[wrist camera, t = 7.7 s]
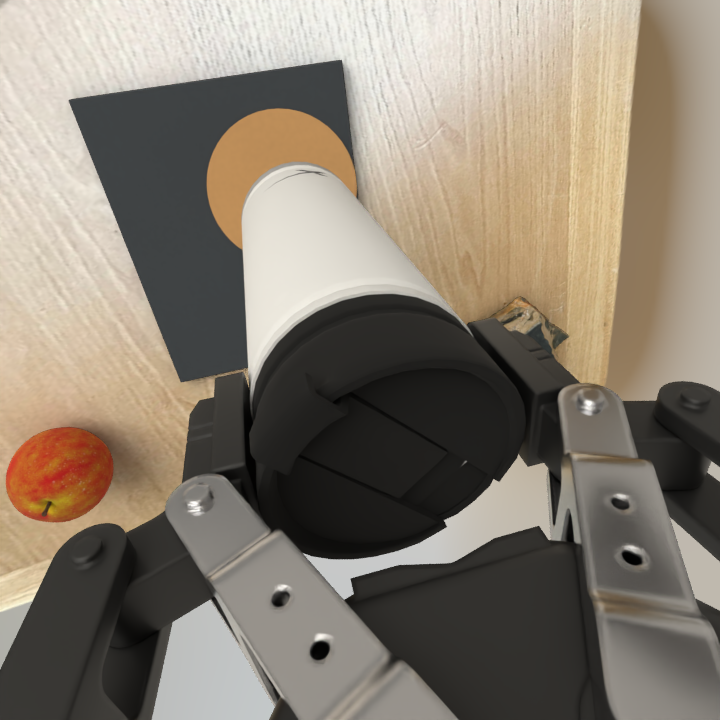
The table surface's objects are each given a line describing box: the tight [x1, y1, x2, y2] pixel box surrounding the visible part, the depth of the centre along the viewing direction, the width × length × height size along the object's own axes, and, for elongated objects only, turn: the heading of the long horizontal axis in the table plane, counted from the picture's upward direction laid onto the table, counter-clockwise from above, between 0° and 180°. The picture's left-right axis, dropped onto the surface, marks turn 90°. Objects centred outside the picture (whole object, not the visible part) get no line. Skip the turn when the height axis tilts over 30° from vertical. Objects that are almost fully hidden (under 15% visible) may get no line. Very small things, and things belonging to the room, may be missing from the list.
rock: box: [490, 296, 569, 361], centre depth 42 cm, size 9×9×6 cm
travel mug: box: [241, 162, 526, 559], centre depth 18 cm, size 6×7×20 cm
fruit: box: [6, 427, 113, 522], centre depth 37 cm, size 7×7×8 cm
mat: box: [69, 60, 358, 382], centre depth 34 cm, size 20×16×1 cm
